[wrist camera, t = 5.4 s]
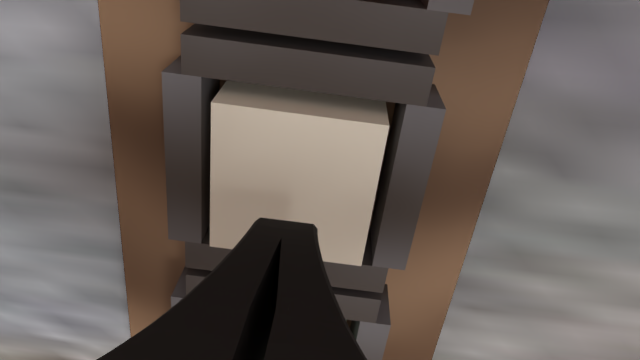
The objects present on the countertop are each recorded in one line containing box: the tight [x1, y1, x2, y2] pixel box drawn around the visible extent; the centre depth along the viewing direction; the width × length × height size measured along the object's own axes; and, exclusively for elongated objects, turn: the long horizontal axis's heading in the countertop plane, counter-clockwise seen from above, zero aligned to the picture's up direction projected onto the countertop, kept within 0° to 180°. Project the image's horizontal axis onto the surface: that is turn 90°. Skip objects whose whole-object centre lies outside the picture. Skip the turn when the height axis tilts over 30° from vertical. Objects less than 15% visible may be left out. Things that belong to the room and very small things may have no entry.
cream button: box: [210, 81, 389, 266], centre depth 14 cm, size 4×4×2 cm
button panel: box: [98, 0, 549, 360], centre depth 15 cm, size 24×12×4 cm, turn 173°
